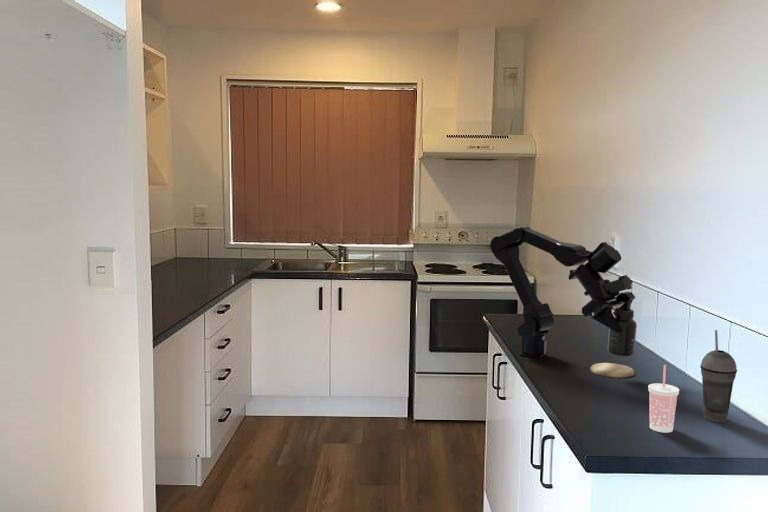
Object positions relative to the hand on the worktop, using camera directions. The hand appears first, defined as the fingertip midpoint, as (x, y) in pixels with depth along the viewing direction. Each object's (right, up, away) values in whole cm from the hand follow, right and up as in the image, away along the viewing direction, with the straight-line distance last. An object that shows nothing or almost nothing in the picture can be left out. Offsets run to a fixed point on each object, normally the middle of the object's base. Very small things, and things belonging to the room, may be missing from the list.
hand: (627, 330), depth 169 cm
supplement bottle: (-1, -7, +2) cm, 7 cm away
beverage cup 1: (-5, -17, -33) cm, 38 cm away
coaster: (-1, -12, +8) cm, 15 cm away
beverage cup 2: (+9, -17, -27) cm, 33 cm away
